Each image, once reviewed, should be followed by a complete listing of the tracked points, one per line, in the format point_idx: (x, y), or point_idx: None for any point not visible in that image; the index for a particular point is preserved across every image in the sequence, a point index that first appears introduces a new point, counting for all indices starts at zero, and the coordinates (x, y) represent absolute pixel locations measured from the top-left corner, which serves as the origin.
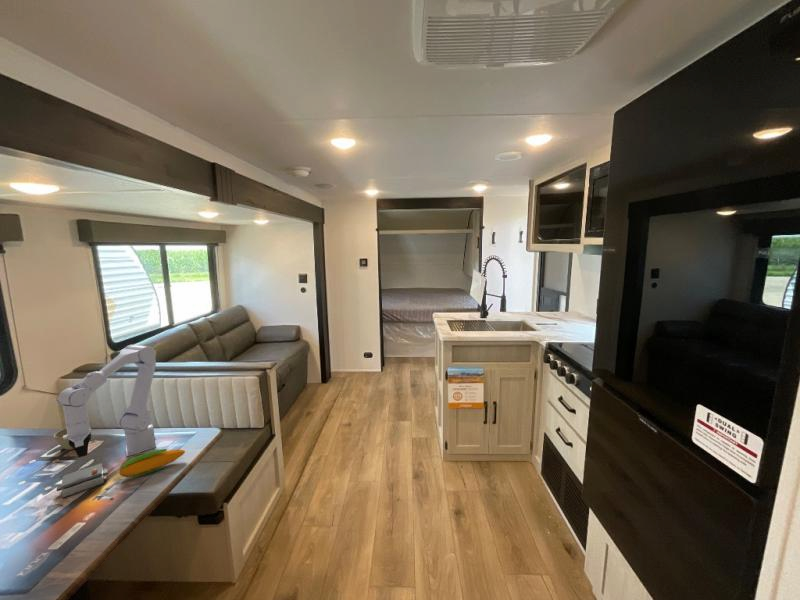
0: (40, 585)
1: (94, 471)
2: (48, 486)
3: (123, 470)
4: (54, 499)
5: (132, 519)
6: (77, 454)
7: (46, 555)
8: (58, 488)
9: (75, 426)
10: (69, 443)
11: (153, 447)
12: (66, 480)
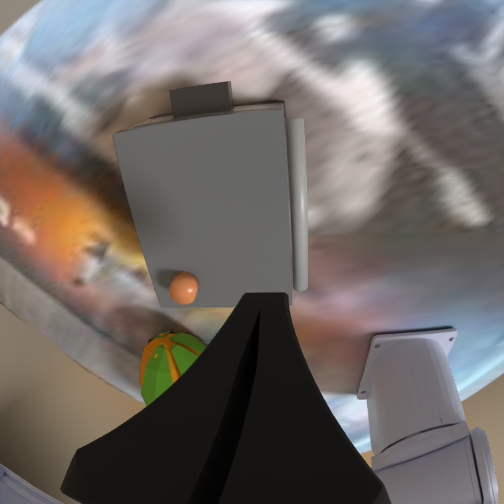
0: None
1: (170, 289)
2: (352, 27)
3: (147, 359)
4: (173, 77)
5: (8, 306)
6: (229, 319)
7: None
8: (177, 97)
9: None
10: (61, 490)
11: (357, 394)
12: (176, 146)
